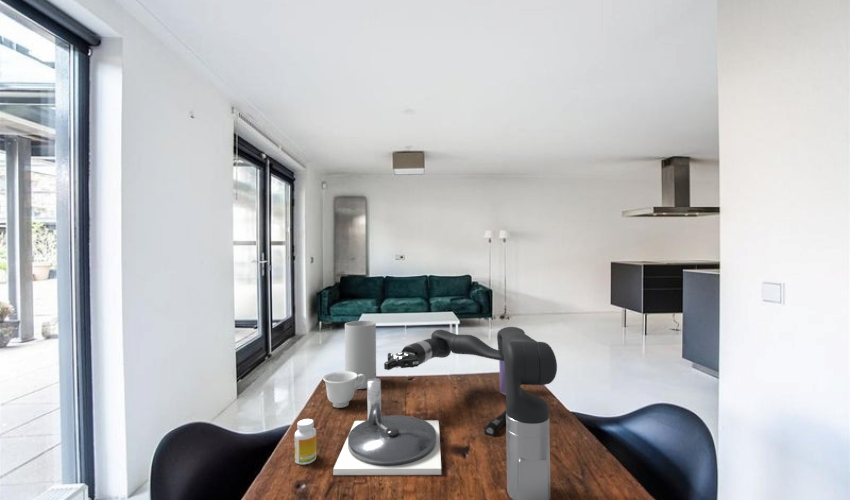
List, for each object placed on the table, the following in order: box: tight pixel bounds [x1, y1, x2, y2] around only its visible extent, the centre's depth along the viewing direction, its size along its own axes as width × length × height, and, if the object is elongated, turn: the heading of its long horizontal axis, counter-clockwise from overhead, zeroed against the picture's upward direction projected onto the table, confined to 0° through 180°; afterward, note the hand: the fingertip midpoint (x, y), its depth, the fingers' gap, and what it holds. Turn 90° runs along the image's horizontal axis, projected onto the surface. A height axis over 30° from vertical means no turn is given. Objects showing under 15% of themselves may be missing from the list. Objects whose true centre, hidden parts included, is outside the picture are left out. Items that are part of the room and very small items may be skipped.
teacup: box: [322, 370, 366, 409], centre depth 133 cm, size 12×15×10 cm
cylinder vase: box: [344, 320, 377, 390], centre depth 153 cm, size 12×12×25 cm
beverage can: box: [498, 360, 506, 396], centre depth 142 cm, size 6×6×15 cm
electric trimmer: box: [483, 410, 506, 437], centre depth 115 cm, size 4×16×3 cm, turn 145°
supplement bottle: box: [294, 418, 317, 466], centre depth 97 cm, size 5×5×10 cm
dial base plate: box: [332, 419, 442, 476], centre depth 103 cm, size 26×26×2 cm
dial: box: [347, 377, 436, 466], centre depth 103 cm, size 24×24×14 cm
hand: (386, 366), depth 117 cm, fingers closed
